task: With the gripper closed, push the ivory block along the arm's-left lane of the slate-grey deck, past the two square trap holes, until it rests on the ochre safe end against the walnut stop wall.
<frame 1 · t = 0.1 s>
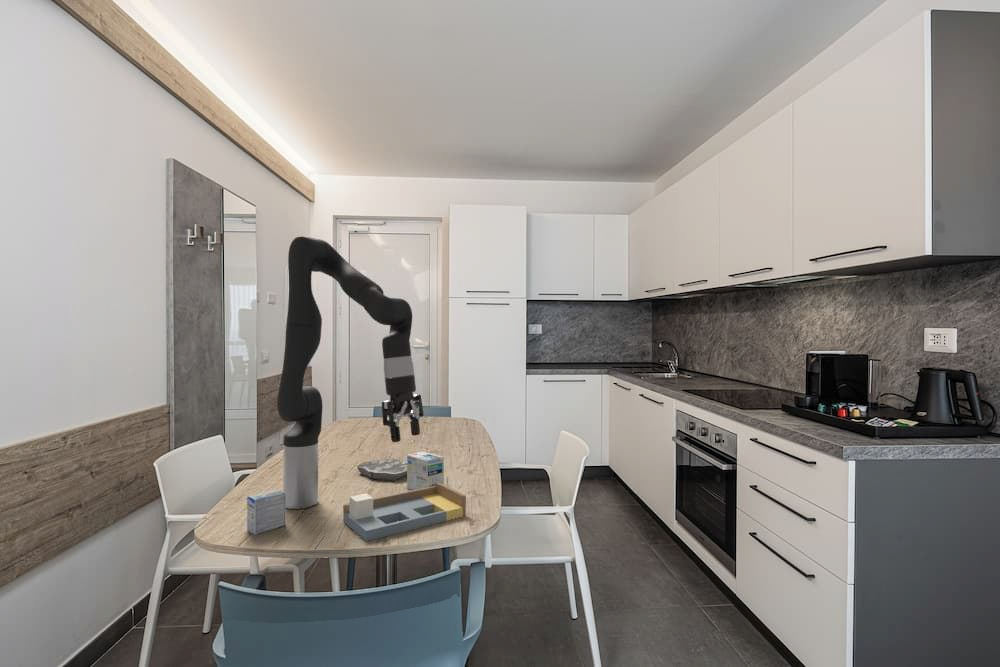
hand: (406, 438, 131), 22 cm above the table, tool pointing down, fingers open, 8 cm apart
trap deck: (405, 518, 136), on the table
light bulb box: (425, 490, 160), on the table
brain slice: (387, 474, 177), on the table
ivory block: (361, 514, 131), point 2 cm above the table, touching trap deck
medicine box: (266, 529, 129), on the table
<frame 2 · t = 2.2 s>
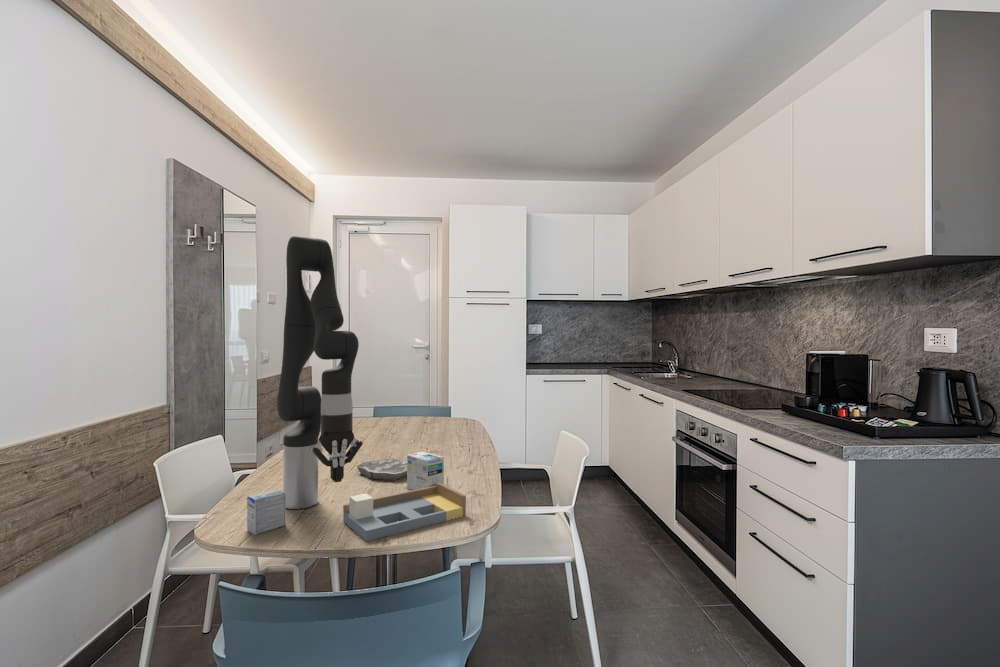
hand: (337, 481, 127), 12 cm above the table, tool pointing down, fingers closed
nothing on the table moved.
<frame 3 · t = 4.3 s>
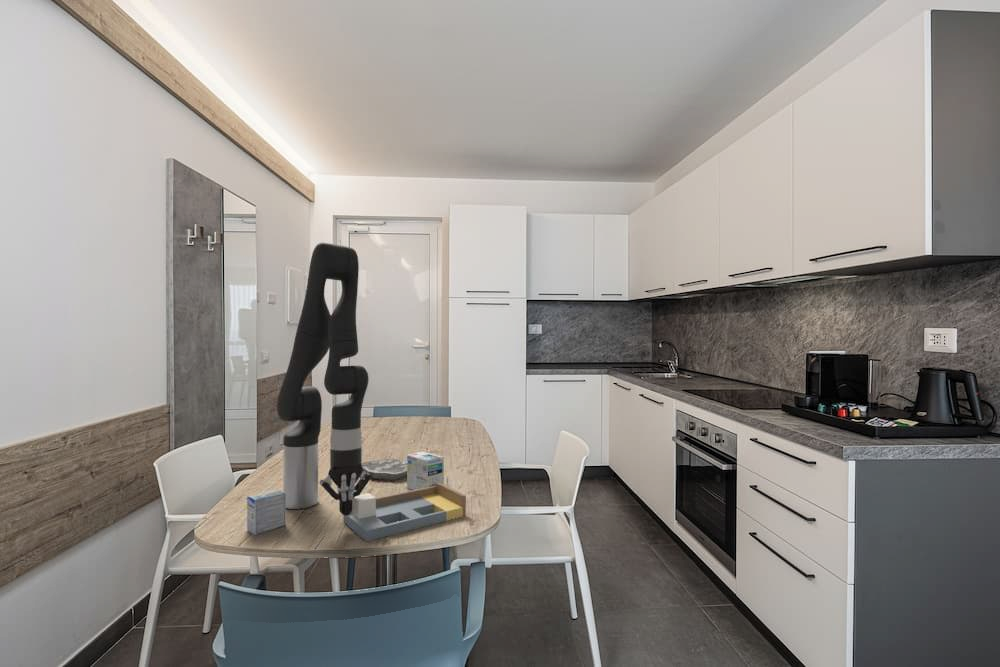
hand: (345, 514, 129), 4 cm above the table, tool pointing down, fingers closed
ivory block: (363, 514, 132), point 3 cm above the table, touching gripper, trap deck
everything else where it was.
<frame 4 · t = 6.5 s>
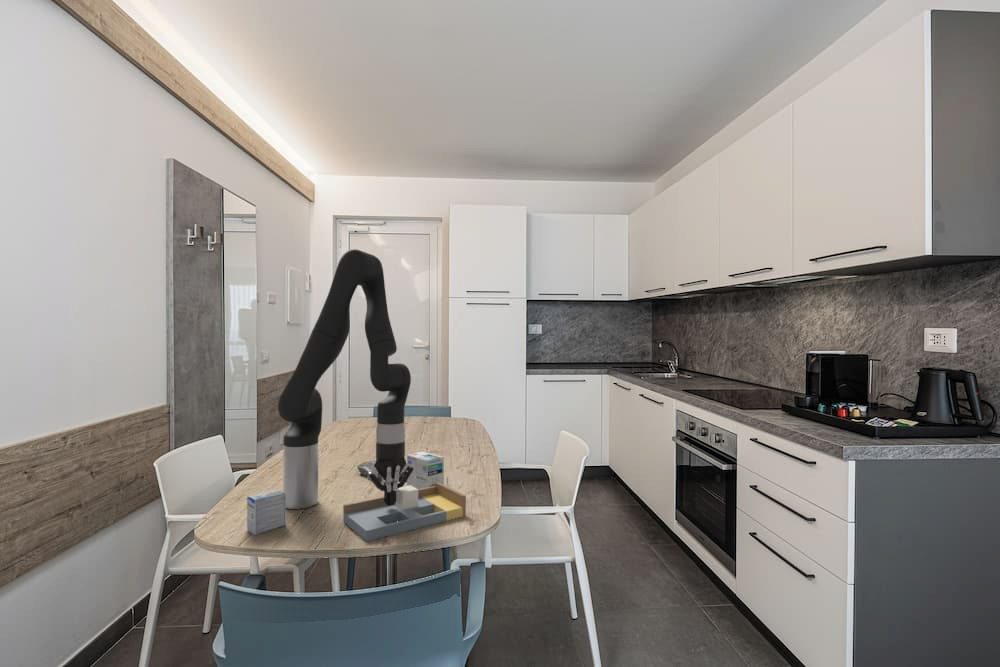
hand: (390, 504, 136), 4 cm above the table, tool pointing down, fingers closed
ivory block: (406, 505, 139), point 3 cm above the table, touching gripper
everything else where it was.
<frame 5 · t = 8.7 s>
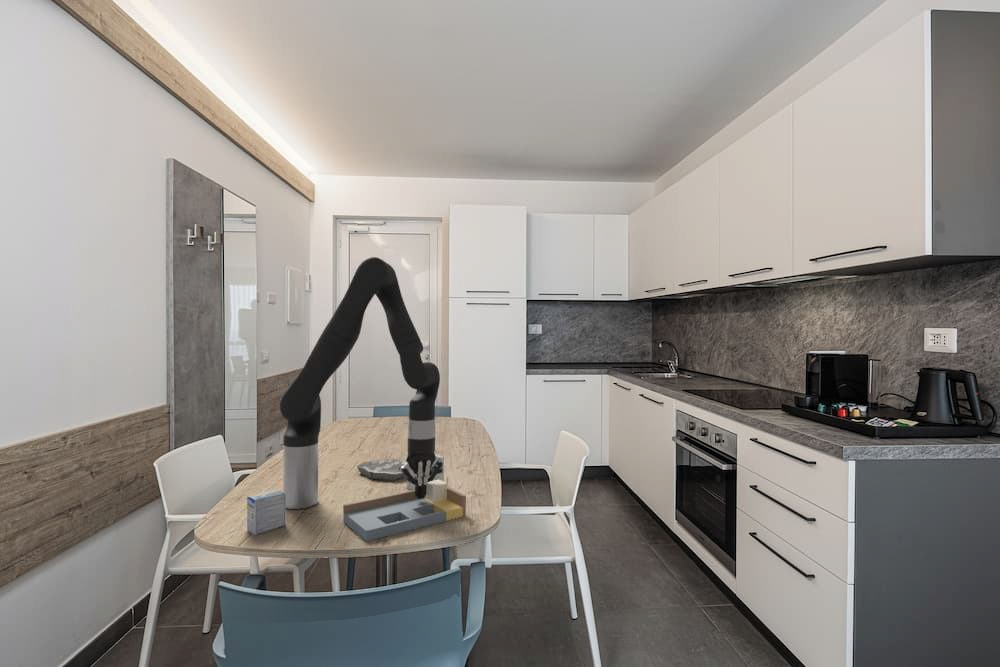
hand: (420, 497, 142), 4 cm above the table, tool pointing down, fingers closed
ivory block: (435, 498, 144), point 2 cm above the table, touching gripper, trap deck
everything else where it was.
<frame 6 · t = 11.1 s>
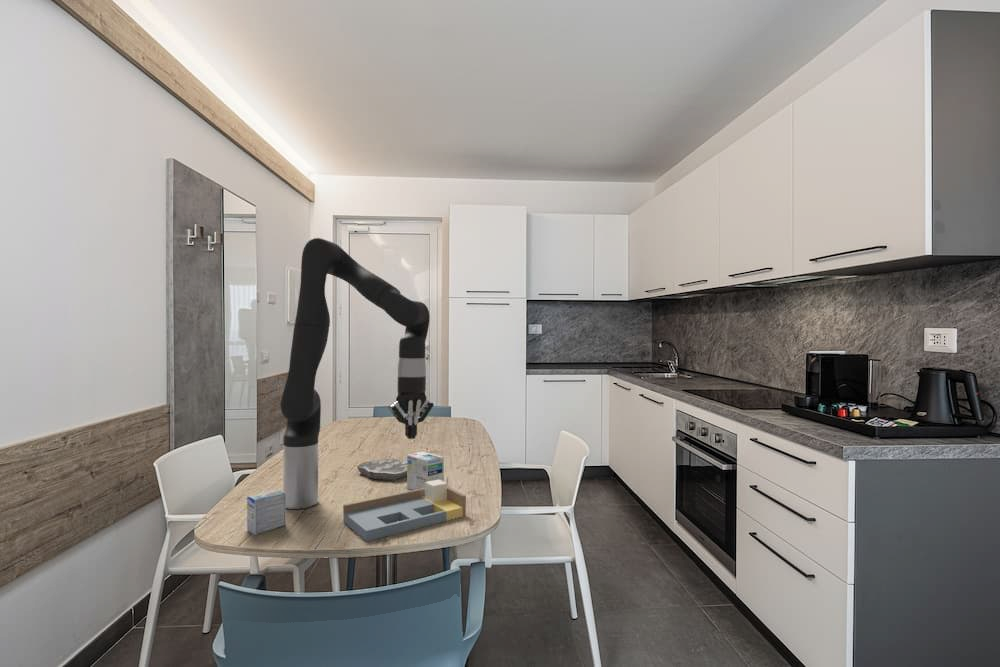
hand: (410, 438, 140), 20 cm above the table, tool pointing down, fingers closed
ivory block: (435, 498, 144), point 2 cm above the table, touching trap deck
everything else where it was.
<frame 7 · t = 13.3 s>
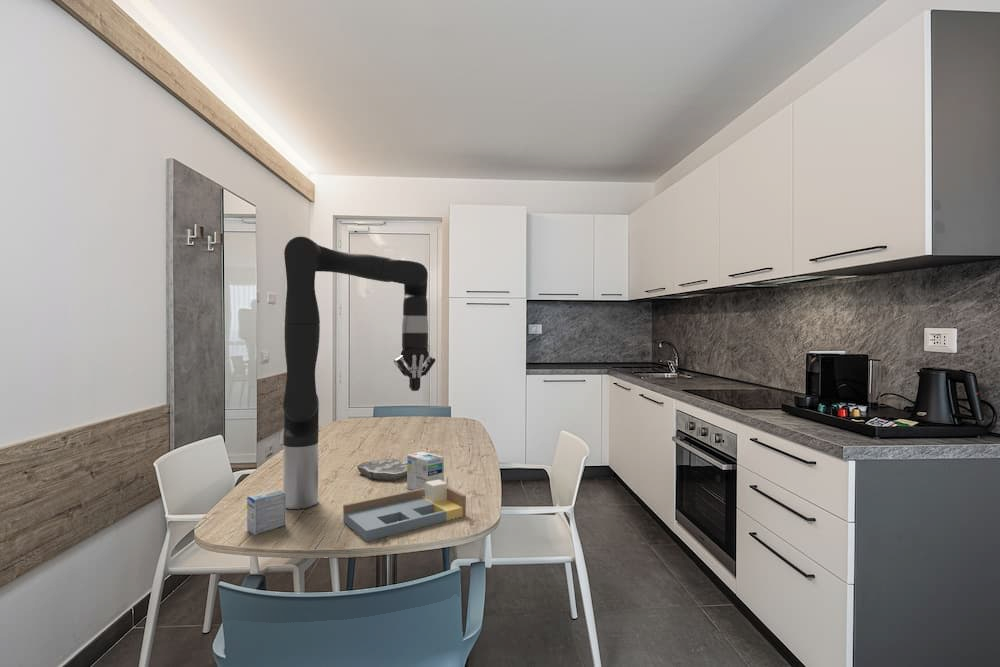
hand: (414, 390, 151), 32 cm above the table, tool pointing down, fingers closed
nothing on the table moved.
at the end: ivory block 0.1 cm from the target spot, point 2.5 cm above the table; ivory block tilted 0°; the gripper is holding nothing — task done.
